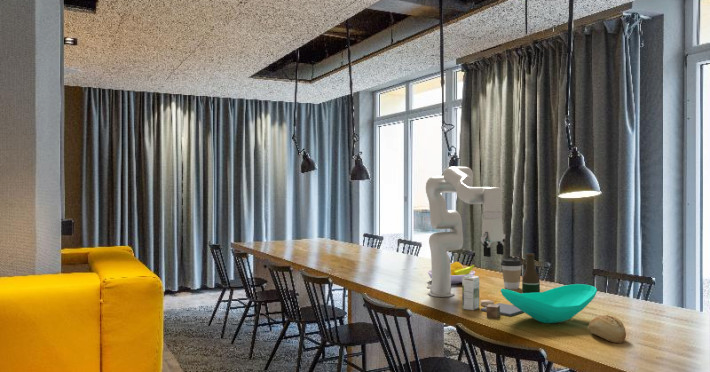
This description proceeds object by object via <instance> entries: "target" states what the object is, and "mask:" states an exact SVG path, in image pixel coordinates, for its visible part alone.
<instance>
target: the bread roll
mask: <svg viewBox="0 0 710 372" xmlns="http://www.w3.org/2000/svg"><path fill="white" fill-rule="evenodd" d="M588 330H589V332H590V333H591V334H593V335H595V336H598V337H600V338H602V339H605V340H606V341H609V342H611V343H614V344H621V343H623V342H624V341H625V340H626V337H627V332H626V328H625V325H624V323H623V321H621V320H620V319H619V318H617V317H615V316H611V315H600V316H597V317H594V318H592V319H591V320H590V322H589V324H588Z"/></svg>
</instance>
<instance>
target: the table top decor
mask: <svg viewBox="0 0 710 372" xmlns="http://www.w3.org/2000/svg"><path fill="white" fill-rule="evenodd" d="M597 292H598V289H597V287H595V286H593V285H589V284H583V283H582V284H581V283H574V284H565V285H561V286H557V287H553V288H550V289H548V290H545V291H540V292H536V293H522V292H521V293H520V292H517V291H514V290H513V289H506V288H501V289H500V293H501V295H502V296H503V297H504V299H506V300H507V302H509V303H510V304H511V305H514V306H516V307H517V308H519V309H520V310H522V311H523V313H525V314H526V315H527V316H529V317H531V319H534V320H535V321H537V322H540V323H545V324H556V323H562V322H566V321H568V320H571V319H572V318H573V317H575V316H576V315H577V314H579V313H580V312H581V311H583V310H584V309H585V308H586V307H587V306H588V305H589V304H590V303H591V302H593V300H594V298H595V297H596V294H597Z"/></svg>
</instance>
